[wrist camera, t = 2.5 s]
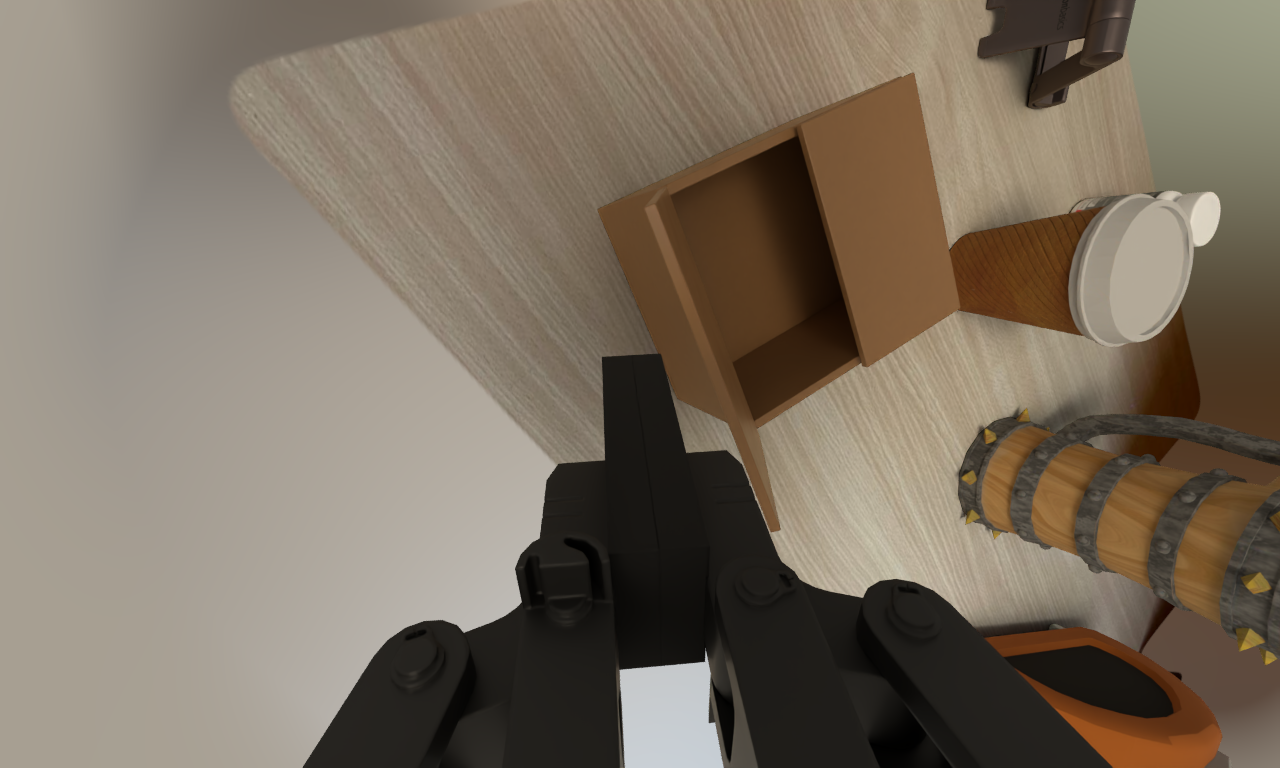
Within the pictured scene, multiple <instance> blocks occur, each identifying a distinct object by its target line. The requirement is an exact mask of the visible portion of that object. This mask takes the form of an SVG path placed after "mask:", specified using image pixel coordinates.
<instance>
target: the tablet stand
mask: <svg viewBox="0 0 1280 768" xmlns="http://www.w3.org/2000/svg"><path fill="white" fill-rule="evenodd" d="M1135 1H1136V0H988V3H987V9H995V8H1006V13H1005V18H1004V24H1003V28H1002V29H1001V31H999V32H997V33H995V34H992V35H990V36H986V37H984V38H981V40H980V45H979V50H978V54H979V56H980V57H981V58H986V57H991V56H996V55H1002V54H1007V53H1012V52H1017V51H1022V50H1027V49H1032V48H1037V47H1040V50H1039V55H1038V60H1037V65H1036V70H1035V75H1034V80H1033V84H1032V85H1031V88H1030V93H1029V96H1030V99H1029V104H1028V106H1029V107H1030V108H1037V109H1040V108H1048V107H1052V106H1055V105H1058V104H1062V103H1065V102H1066V98H1067V94H1068V89H1069V85H1071V84H1073V83H1075V82H1077V81H1079V80H1081V79H1083V78H1085V77H1087V76H1089V75H1091V74H1093V73H1095V72H1097V71H1098V70H1100V69H1102V68H1104V67H1106V66H1108V65H1110V64H1112V63H1114V62H1116V61H1118V60H1120V59H1121V58H1122V57H1123V54H1124V49H1125V45H1126V41H1127V36H1128V32H1129V27H1130V23H1131V18H1132V13H1133V9H1134V5H1135ZM1082 38H1085V40H1084V45H1083V49H1082V51H1080V52H1078V53H1077V54H1075V55H1073V56H1071V57H1070V58H1068V59H1066V60H1065V58H1066V53H1067V48H1068V44H1069V41H1072V40H1077V39H1082Z"/></svg>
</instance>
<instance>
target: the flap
mask: <svg viewBox="0 0 1280 768" xmlns="http://www.w3.org/2000/svg"><path fill="white" fill-rule="evenodd" d="M644 211H645V213H646V216H647V218H648V221H649V223H650V226H651V228H652V231H653V234H654V236H655V239H656V241H657V244H658V246H659V249H660V251H661V254H662V257H663V259H664V262H665V264H666V267H667V269H668V272H669V274H670V277H671V279H672V282H673V285H674V287H675V290H676V292H677V295H678V297H679V300H680V302H681V305H682V307H683V310H684V313H685V315H686V318H687V320H688V323H689V325H690V328H691V330H692V333H693V335H694V338H695V341H696V343H697V346H698V348H699V351H700V353H701V356H702V358H703V361H704V363H705V366H706V369H707V371H708V374H709V376H710V379H711V381H712V384H713V386H714V389H715V391H716V394H717V397H718V399H719V402H720V404H721V407H722V409H723V412H724V414H725V417H726V419H727V422H728V425H729V427H730V430H731V432H732V435H733V437H734V440H735V442H736V445H737V447H738V450H739V453H740V455H741V458H742V460H743V463H744V465H745V468H746V470H747V473H748V475H749V478H750V481H751V483H752V486H753V488H754V491H755V493H756V496H757V498H758V501H759V503H760V506H761V509H762V511H763V514H764V516H765V519H766V521H767V524H768V526H769V529H770V531H771V532H775V531H779V530H780V529H781V528H780V524H779V519H778V515H777V511H776V506H775V502H774V497H773V493H772V489H771V484H770V480H769V475H768V471H767V467H766V462H765V458H764V453H763V449H762V445H761V440H760V436H759V433H758V430H757V428H756V425H755V422H754V420H753V417H752V414H751V412H750V409H749V406H748V404H747V401H746V398H745V396H744V393H743V390H742V387H741V385H740V382H739V379H738V377H737V374H736V371H735V369H734V366H733V363H732V361H731V358H730V355H729V353H728V350H727V347H726V344H725V342H724V339H723V336H722V334H721V331H720V328H719V326H718V323H717V320H716V318H715V315H714V312H713V310H712V307H711V304H710V301H709V299H708V296H707V293H706V291H705V288H704V285H703V283H702V280H701V277H700V275H699V272H698V269H697V267H696V264H695V261H694V258H693V256H692V253H691V250H690V248H689V245H688V242H687V240H686V237H685V234H684V232H683V229H682V226H681V224H680V221H679V218H678V215H677V213H676V210H675V207H674V205H673V202H672V199H671V197H670V194H669V191H668V189H667V187H664V188H662V189H660V190H658V192H657V193H656V194H655V195H654V196H653V198H652V199H651V200H650V201H649V202H648V204H647V205H646V206H645V207H644Z"/></svg>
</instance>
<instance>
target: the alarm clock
mask: <svg viewBox="0 0 1280 768" xmlns="http://www.w3.org/2000/svg"><path fill="white" fill-rule="evenodd" d="M985 639H986V640H987V641H988V642H989V643H990V644H991V645H992V646H993V647H994V648H995V649H996V650H997V651H998V652H999V653H1000V654H1001V655H1002V656H1003V657H1004V658H1005V659H1006V660H1007V661H1008V662H1009V663H1010V664H1011V665H1012V666H1013V667H1014V668H1015V669H1016V670H1017V671H1018V672H1019V673H1020V674H1021V675H1022V676H1023V677H1024V678H1025V679H1026V680H1027V681H1028V682H1029V683H1030V684H1031V685H1032V686H1033V687H1034V688H1035V689H1036V690H1037V691H1038V692H1039V693H1040V694H1041V695H1042V697H1043V698H1044V699H1045V700H1046V701H1047V702H1048V703H1049V704H1050V705H1051V706H1052V707H1053V708H1054V709H1055V710H1056V711H1057V712H1058V713H1059V714H1060V715H1061V716H1062V717H1063V718H1064V719H1065V720H1066V721H1067V722H1068V723H1069V724H1070V725H1071V726H1072V727H1073V728H1074V729H1075V730H1076V731H1077V732H1078V733H1079V734H1080V735H1081V736H1082V737H1083V738H1084V739H1085V740H1086V741H1087V742H1088V743H1089V744H1090V745H1091V746H1092V747H1093V748H1094V749H1095V750H1096V751H1097V752H1098V753H1099V754H1100V755H1101V756H1102V757H1103V758H1104V759H1105V760H1106V761H1107V762H1108V763H1109V764H1110V765H1111V766H1112V767H1113V768H1231V767H1232V766H1231V761H1230V759H1229V757H1228V756H1226V755H1224V754H1222V753H1221V752H1219V751H1218V748H1219V745H1220V742H1221V739H1222V734H1221V730H1220V728H1219V726H1218V723H1217V721H1216V718H1215V716H1214V714H1213V713H1212V712H1211V710H1210V709H1209V708H1208V706H1207V705H1206V704H1205V702H1204V701H1203V700H1202V699H1201V698H1200V697H1199V696H1198V695H1197V694H1195V693H1194V692H1193V691H1192V690H1191V689H1190V688H1188V687H1187V686H1186V685H1185V684H1183V682H1181V681H1180V680H1179V679H1178V678H1177V677H1176V676H1174V675H1173V674H1171V673H1170V672H1168V671H1167V670H1165V669H1164V668H1162V667H1161V666H1159V665H1158V664H1156V663H1155V662H1154V661H1152V660H1151V659H1149V658H1148V657H1146V656H1144V655H1142V654H1140V653H1139V652H1137V651H1135V650H1133V649H1131V648H1129V647H1127V646H1126V645H1124V644H1122V643H1120V642H1118V641H1116V640H1114V639H1112V638H1110V637H1108V636H1105V635H1103V634H1101V633H1099V632H1097V631H1095V630H1091V629H1087V628H1083V627H1073V628H1064V627H1062V626H1060V625H1057V624H1052V625H1050V627H1049V630H1047V631H1039V632H1030V633H1021V634H1013V635H1004V636H995V637H987V638H985Z"/></svg>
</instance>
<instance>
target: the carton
mask: <svg viewBox="0 0 1280 768" xmlns="http://www.w3.org/2000/svg"><path fill="white" fill-rule="evenodd" d="M664 187H667V189H668V191H669V194H670V197H671V199H672V202H673V205H674V207H675V210H676V213H677V215H678V218H679V221H680V224H681V226H682V229H683V232H684V234H685V237H686V240H687V242H688V245H689V248H690V250H691V253H692V256H693V258H694V261H695V264H696V267H697V269H698V272H699V275H700V277H701V280H702V283H703V285H704V288H705V291H706V293H707V296H708V299H709V301H710V304H711V307H712V310H713V312H714V315H715V318H716V320H717V323H718V326H719V328H720V331H721V334H722V336H723V339H724V342H725V344H726V347H727V350H728V353H729V355H730V358H731V361H732V363H733V366H734V369H735V371H736V374H737V377H738V379H739V382H740V385H741V387H742V390H743V393H744V396H745V398H746V401H747V404H748V406H749V409H750V412H751V414H752V417H753V420H754V422H755V425H756V428H759V427H761V426H762V425H764V424H765V423H767V422H768V421H770V420H772V419H773V418H775V417H776V416H778V415H779V414H781V413H783V412H784V411H786V410H787V409H789V408H791V407H792V406H794V405H795V404H797V403H798V402H800V401H802V400H803V399H805V398H806V397H808V396H810V395H811V394H813V393H814V392H816V391H817V390H819V389H821V388H822V387H824V386H825V385H827V384H828V383H830V382H832V381H833V380H835V379H836V378H838V377H840V376H841V375H843V374H844V373H846V372H847V371H849V370H851V369H852V368H854V367H855V366H857V365H858V364H860V363H862V366H864V367H869V366H870V365H872V364H873V363H875V362H876V361H878V360H880V359H881V358H883V357H884V356H886V355H887V354H889V353H891V352H892V351H894V350H895V349H897V348H898V347H900V346H902V345H903V344H905V343H906V342H908V341H909V340H911V339H912V338H914V337H916V336H917V335H919V334H920V333H922V332H923V331H925V330H927V329H928V328H930V327H931V326H933V325H934V324H936V323H938V322H939V321H941V320H942V319H944V318H945V317H947V316H949V315H950V314H952V313H953V312H955V311H956V310H958V309H959V308H960V303H959V298H958V292H957V287H956V282H955V277H954V272H953V267H952V262H951V257H950V252H949V247H948V242H947V237H946V232H945V226H944V221H943V216H942V211H941V206H940V201H939V196H938V191H937V186H936V181H935V176H934V171H933V166H932V161H931V155H930V150H929V145H928V140H927V135H926V130H925V125H924V120H923V115H922V110H921V105H920V100H919V95H918V90H917V84H916V79H915V74H914V73H911V74H908V75H906V76H904V77H898V78H895V79H893V80H890V81H888V82H885V83H883V84H880V85H878V86H875V87H873V88H870V89H868V90H865V91H863V92H860V93H858V94H856V95H853V96H851V97H848V98H846V99H843V100H841V101H838V102H836V103H833V104H831V105H828V106H826V107H823V108H821V109H818V110H816V111H813V112H811V113H808V114H806V115H803V116H801V117H798V118H796V119H794V120H791V121H789V122H787V123H785V124H783V125H780V126H778V127H776V128H774V129H772V130H770V131H767V132H765V133H763V134H761V135H759V136H756V137H754V138H752V139H750V140H748V141H745V142H743V143H741V144H739V145H737V146H735V147H732V148H730V149H728V150H726V151H724V152H721V153H719V154H717V155H715V156H713V157H710V158H708V159H706V160H704V161H702V162H700V163H697V164H695V165H693V166H691V167H689V168H686V169H684V170H682V171H680V172H678V173H675V174H673V175H671V176H669V177H667V178H665V179H662V180H660V181H658V182H656V183H654V184H651V185H649V186H647V187H645V188H643V189H640V190H638V191H636V192H634V193H632V194H629V195H627V196H625V197H623V198H621V199H619V200H616V201H614V202H612V203H610V204H608V205H605V206H603V207H601V208H599V209H598V212H599V215H600V217H601V220H602V222H603V224H604V227H605V229H606V231H607V234H608V236H609V238H610V241H611V243H612V246H613V248H614V250H615V253H616V255H617V257H618V260H619V262H620V264H621V267H622V269H623V271H624V274H625V276H626V279H627V281H628V283H629V286H630V288H631V290H632V293H633V295H634V297H635V300H636V302H637V305H638V307H639V309H640V312H641V314H642V316H643V319H644V321H645V323H646V326H647V328H648V331H649V333H650V335H651V338H652V340H653V342H654V345H655V347H656V349H657V352H658V354H661V356H662V360H663V363H664V367H665V371H666V373H667V375H668V378H669V380H670V382H671V385H672V387H673V390H674V392H675V394H676V397H677V399H679V400H681V401H683V402H685V403H687V404H689V405H692V406H694V407H696V408H698V409H700V410H702V411H704V412H706V413H708V414H710V415H712V416H714V417H716V418H718V419H720V420H722V421H725V422H727V419H726V417H725V414H724V412H723V409H722V407H721V404H720V402H719V399H718V397H717V394H716V391H715V389H714V386H713V384H712V381H711V379H710V376H709V374H708V371H707V369H706V366H705V363H704V361H703V358H702V356H701V353H700V351H699V348H698V346H697V343H696V341H695V338H694V335H693V333H692V330H691V328H690V325H689V323H688V320H687V318H686V315H685V313H684V310H683V307H682V305H681V302H680V300H679V297H678V295H677V292H676V290H675V287H674V285H673V282H672V279H671V277H670V274H669V272H668V269H667V267H666V264H665V262H664V259H663V257H662V254H661V251H660V249H659V246H658V244H657V241H656V239H655V236H654V234H653V231H652V228H651V226H650V223H649V221H648V218H647V216H646V213H645V211H644V207H645V206H646V205H647V204H648V202H649V201H650V200H651V199H652V198H653V196H654V195H655V194H656V193H657V192H658V190H660V189H662V188H664ZM727 423H728V422H727Z"/></svg>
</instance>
